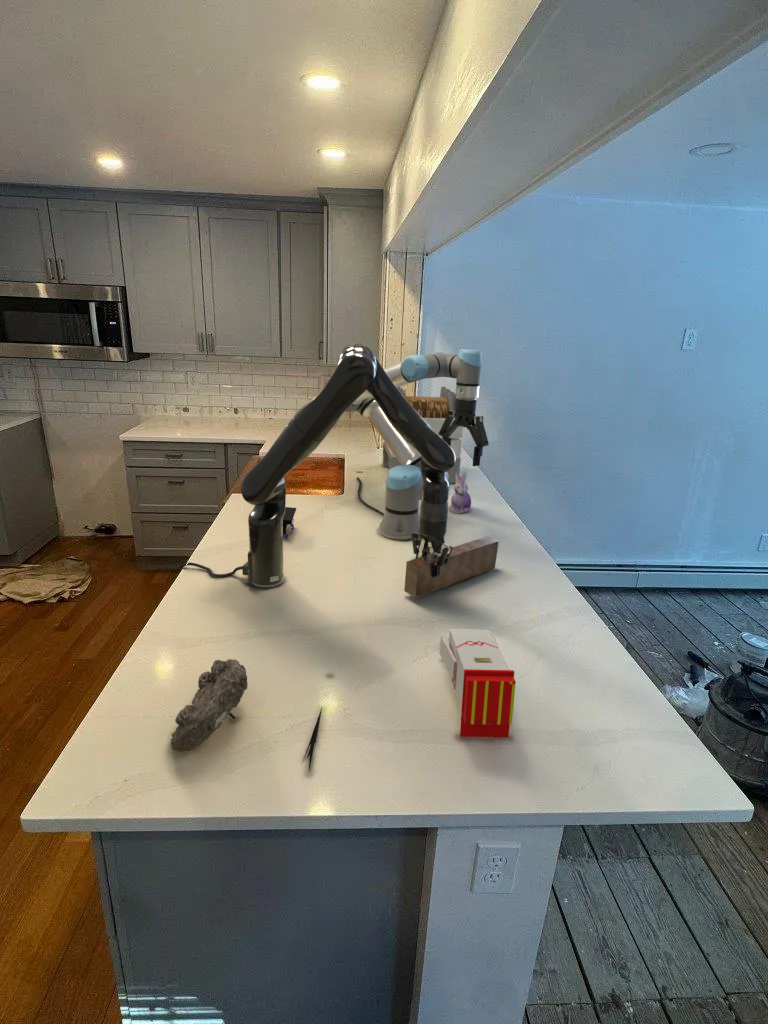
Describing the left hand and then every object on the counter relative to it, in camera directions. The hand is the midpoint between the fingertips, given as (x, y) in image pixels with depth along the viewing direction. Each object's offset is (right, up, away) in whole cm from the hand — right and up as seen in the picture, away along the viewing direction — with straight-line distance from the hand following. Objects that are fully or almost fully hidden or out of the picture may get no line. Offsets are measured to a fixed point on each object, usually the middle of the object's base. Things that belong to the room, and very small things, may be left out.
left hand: (428, 573), depth 158 cm
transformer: (+4, +36, +117) cm, 123 cm away
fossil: (-45, -22, -49) cm, 70 cm away
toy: (+6, -21, -39) cm, 44 cm away
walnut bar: (+7, -3, +8) cm, 11 cm away
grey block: (+2, +2, +23) cm, 24 cm away
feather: (-25, -23, -49) cm, 59 cm away
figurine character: (-47, +10, +38) cm, 61 cm away
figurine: (+18, +18, +69) cm, 74 cm away
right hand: (+14, +34, +36) cm, 51 cm away
